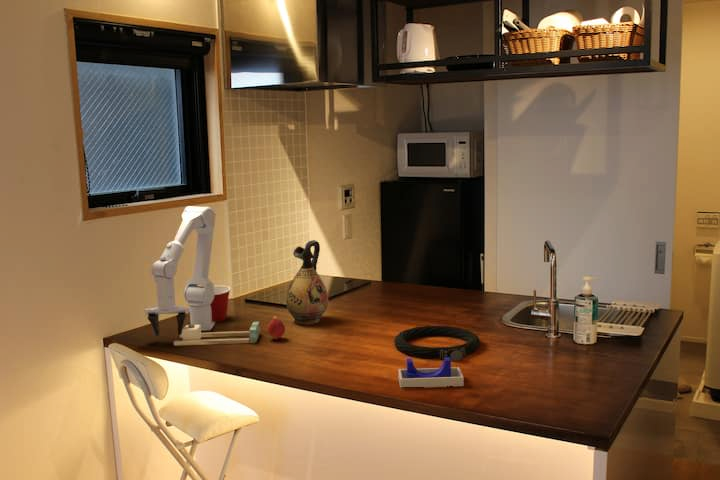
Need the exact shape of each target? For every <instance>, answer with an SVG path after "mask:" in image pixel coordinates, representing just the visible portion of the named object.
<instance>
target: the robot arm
mask: <svg viewBox="0 0 720 480" xmlns="http://www.w3.org/2000/svg"><path fill="white" fill-rule="evenodd" d="M181 220H182V221H181V224H180V226H179V228H178V229H177V232H176V234H175V237H174V240H172V241H170V242H168V243H167V244H166V246H165V249H164V250H163V252H162V254H161V256H160V257H159V260H156V261H155V262H153V264H152V266H151V269H150V272H151V275H152V276H153V279H154V281H153V282H155V285H156V297H157V306H156V307H148V308H145V309H144V316H147V319H148V321H149V322H150V324H151V326H152V328H153V330H154V334H155V337H157V336H159V335H160V325H159V319H160V317H159V315H174V314H175V315H176V322H177V332H178V333H177V334H178V336H180V335H181V334H182V329H183V328H184V327H183V326H184V322H185V320H186V317H187V315H188V314H189V316H190V318H189V319H190V324H194V325H201V332H202V331H204V332H206V331H211V330H212V328H213V327H214V325H215V324H216V321H212V311H211V306H210V304H211V303H212V301H213V299H214V286H215V284H214V283H213V282H212V280H210V278H209V276H210V275H209V273H210V266H211V265H210V264H211V255H212V250H213V249H212V246H213V241H214V240H213V239H214V230H215V224H216V223H215V222H216V213H215V211H214V210H213V208H212V207H210V206H191V205H188V206H186V207H185V208H184V209H183V212H182V214H181ZM193 230H194V231H196V233H197V238H196V239H197V240H196V248H195V254H194V255H195V256H194V263H193V264H194V265H193V273H192V277H191V278H189V279H188V280H187V281H186V286H185V289H184V291H183V298H184V301H185V302H187V305H189V306H177V305H176V298H175V293H176V292H175V281H174V277H175V276H176V274H177V271H178V263H179V262H178V261H179V260H180V258H181V257H182V255H183V252H184V251H185V249H184V244H185V243H186V241H187V240H188V238H189V237H190V235H191V234H192V232H193Z"/></svg>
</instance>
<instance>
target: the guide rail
mask: <svg viewBox="0 0 720 480" xmlns="http://www.w3.org/2000/svg"><path fill="white" fill-rule="evenodd" d="M260 332H261V331H260V321H253V322H252V324H251V326H250V328H249V330H241V331H239V330H238V331H214V332H213V331H212V332H211V331H209V332H206V331H205V332H201V338H210V339H200V340H183V336H182V334H181V335H179V339H180V340H174V341H173V345H174V346H200V345H203V346H205V345H206V346H207V345H231V344H232V345H233V344H256V343H257V341H258V339H259V336H260V335H261V334H260ZM216 337H217V338H216ZM220 337H221V338H220ZM223 337H224V338H223ZM225 337H240V338H225ZM241 337H245V338H241ZM246 337H247V338H246ZM211 338H216V339H211ZM181 339H182V340H181Z"/></svg>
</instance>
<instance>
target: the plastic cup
mask: <svg viewBox="0 0 720 480" xmlns="http://www.w3.org/2000/svg"><path fill="white" fill-rule="evenodd" d="M231 289H232V288H231V287H230V286H228V285H214V299H213V301H212V303H211V304H210V306H211V311H212V322H222V321H223V322H224V321H225V320H226V319H227V312H228V305H229V298H230V297H229V296H230V291H231Z"/></svg>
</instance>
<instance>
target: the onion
mask: <svg viewBox="0 0 720 480" xmlns="http://www.w3.org/2000/svg"><path fill="white" fill-rule="evenodd" d="M285 327H286V326H285V324H284V323H283V321H282V320H281V319H279V318H278V317H277V316H273V319H272V320H271V321H270V322H269V323H268V326H267V333H268V334H269V336H271V337H272V338H273V340H276V341H277V340H278V339H280V338H281V337H283V336H284V334H285V333H286V328H285Z"/></svg>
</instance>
